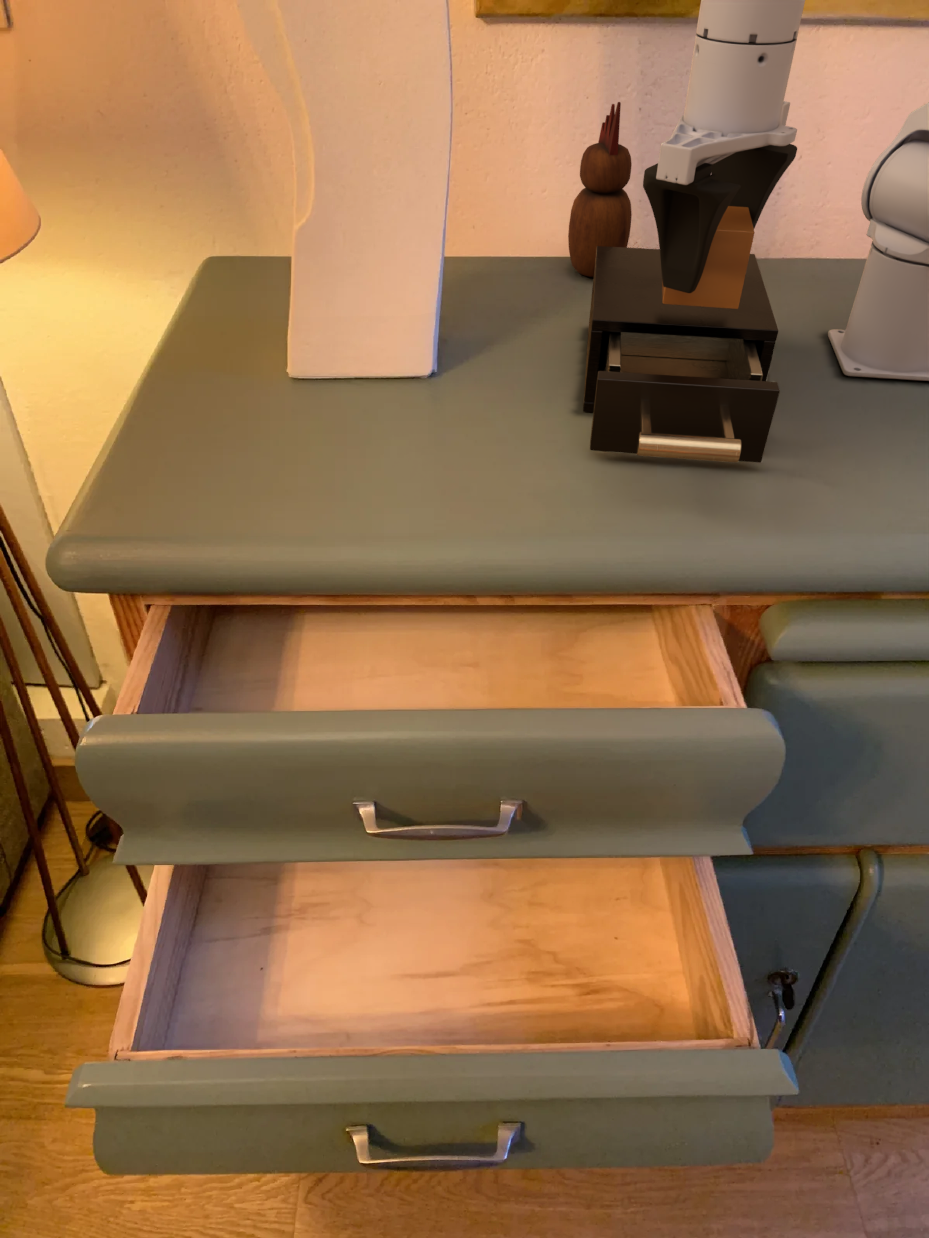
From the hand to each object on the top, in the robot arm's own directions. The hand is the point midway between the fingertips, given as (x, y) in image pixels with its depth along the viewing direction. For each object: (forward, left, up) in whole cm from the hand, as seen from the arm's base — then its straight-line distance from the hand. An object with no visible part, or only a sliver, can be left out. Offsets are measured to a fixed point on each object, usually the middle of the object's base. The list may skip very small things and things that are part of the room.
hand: (702, 272), depth 61 cm
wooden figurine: (+7, -26, -10) cm, 29 cm away
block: (0, 0, -1) cm, 1 cm away
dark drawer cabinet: (+1, -5, -10) cm, 11 cm away
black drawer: (+1, +5, -9) cm, 10 cm away
